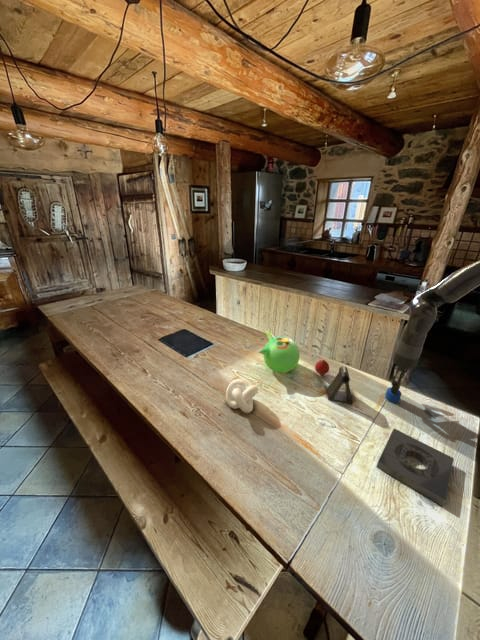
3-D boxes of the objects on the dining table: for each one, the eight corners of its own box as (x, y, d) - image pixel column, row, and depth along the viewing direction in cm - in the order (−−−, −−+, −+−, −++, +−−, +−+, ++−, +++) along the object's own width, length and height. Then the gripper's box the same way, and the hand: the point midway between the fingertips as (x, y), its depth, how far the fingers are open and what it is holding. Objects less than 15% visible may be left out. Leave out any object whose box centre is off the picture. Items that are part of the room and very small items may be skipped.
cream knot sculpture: (218, 409, 96) (218, 390, 92) (234, 390, 106) (234, 371, 102) (247, 420, 92) (248, 401, 88) (260, 399, 101) (261, 380, 97)
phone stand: (350, 393, 105) (356, 368, 100) (352, 403, 100) (359, 377, 95) (326, 389, 107) (331, 364, 102) (327, 399, 102) (333, 374, 97)
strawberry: (311, 371, 118) (314, 355, 114) (323, 369, 119) (326, 354, 115) (317, 379, 113) (320, 363, 109) (330, 377, 114) (333, 362, 110)
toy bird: (296, 382, 111) (300, 352, 104) (256, 375, 114) (258, 346, 108) (299, 359, 126) (302, 331, 120) (264, 353, 130) (265, 327, 124)
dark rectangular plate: (391, 433, 88) (393, 428, 87) (450, 463, 78) (453, 458, 77) (376, 466, 77) (378, 460, 76) (442, 506, 67) (445, 500, 66)
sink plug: (393, 394, 105) (399, 376, 102) (401, 402, 101) (408, 384, 97) (382, 394, 105) (388, 377, 101) (389, 403, 100) (396, 385, 97)
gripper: (415, 365, 87) (400, 405, 94) (424, 348, 96) (409, 386, 104) (390, 356, 91) (378, 395, 99) (401, 341, 101) (389, 378, 108)
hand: (394, 390), depth 101 cm, fingers closed on sink plug
